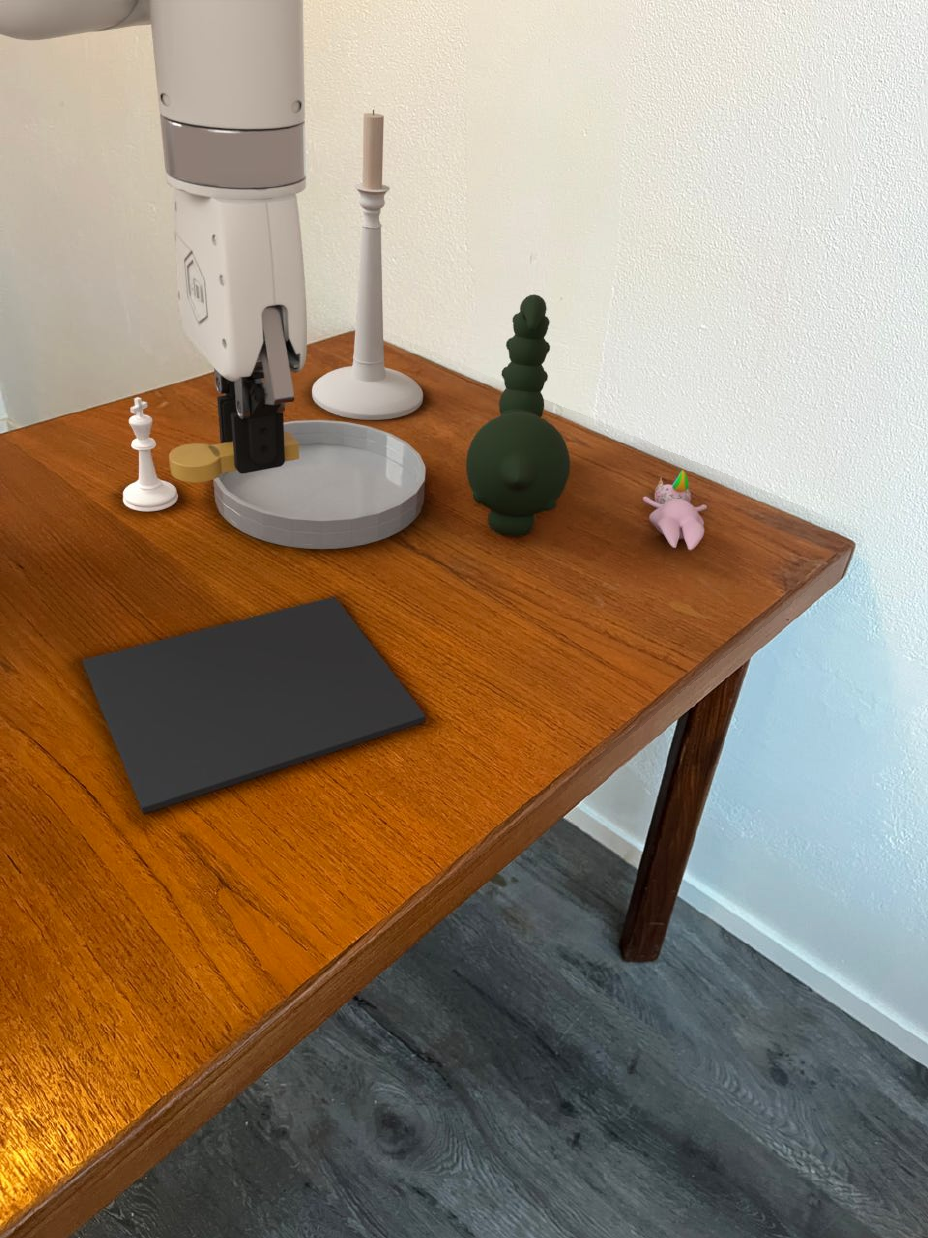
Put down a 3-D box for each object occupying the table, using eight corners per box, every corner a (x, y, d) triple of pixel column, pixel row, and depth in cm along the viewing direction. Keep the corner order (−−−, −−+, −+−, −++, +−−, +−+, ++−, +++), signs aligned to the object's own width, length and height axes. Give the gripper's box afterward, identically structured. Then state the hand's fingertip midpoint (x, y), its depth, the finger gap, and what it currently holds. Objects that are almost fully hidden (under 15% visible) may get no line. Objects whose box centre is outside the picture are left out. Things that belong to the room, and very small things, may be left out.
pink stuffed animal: (636, 504, 100) (643, 561, 87) (647, 448, 98) (656, 498, 84) (697, 512, 100) (713, 570, 87) (709, 456, 97) (728, 507, 84)
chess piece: (188, 494, 92) (178, 395, 86) (154, 517, 89) (141, 415, 83) (146, 480, 94) (134, 382, 88) (111, 502, 90) (95, 401, 84)
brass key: (179, 487, 60) (177, 469, 60) (164, 464, 62) (162, 447, 62) (303, 463, 64) (303, 447, 63) (284, 443, 66) (284, 426, 65)
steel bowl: (258, 569, 83) (256, 539, 81) (187, 465, 97) (184, 438, 95) (461, 522, 92) (463, 494, 90) (369, 433, 106) (370, 408, 104)
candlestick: (437, 386, 117) (455, 109, 99) (399, 428, 107) (412, 128, 89) (339, 366, 120) (339, 92, 102) (293, 405, 110) (285, 109, 92)
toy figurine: (471, 456, 107) (454, 562, 85) (488, 277, 97) (473, 347, 75) (557, 465, 106) (561, 574, 85) (582, 287, 97) (594, 359, 75)
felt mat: (143, 814, 61) (141, 808, 60) (83, 665, 71) (82, 659, 71) (426, 722, 69) (426, 715, 69) (334, 602, 80) (334, 596, 80)
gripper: (126, 125, 56) (160, 419, 67) (216, 194, 46) (239, 529, 57) (250, 123, 60) (263, 403, 71) (361, 186, 49) (357, 504, 60)
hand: (253, 457), depth 64 cm, fingers closed on brass key, 1 cm apart
